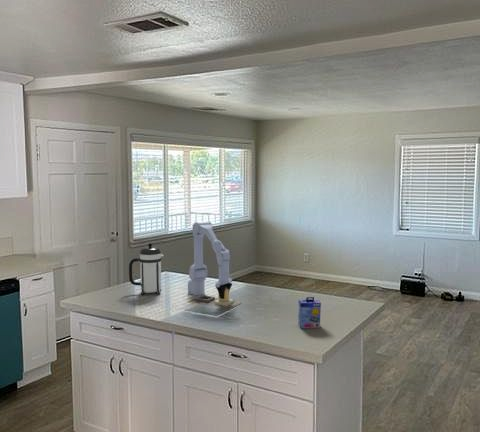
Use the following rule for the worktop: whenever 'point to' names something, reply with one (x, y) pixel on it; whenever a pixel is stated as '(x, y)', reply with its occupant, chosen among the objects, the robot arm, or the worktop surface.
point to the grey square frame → (203, 299)
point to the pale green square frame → (224, 302)
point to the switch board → (216, 304)
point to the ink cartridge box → (309, 313)
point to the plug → (225, 296)
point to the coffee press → (148, 270)
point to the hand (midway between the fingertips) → (224, 297)
